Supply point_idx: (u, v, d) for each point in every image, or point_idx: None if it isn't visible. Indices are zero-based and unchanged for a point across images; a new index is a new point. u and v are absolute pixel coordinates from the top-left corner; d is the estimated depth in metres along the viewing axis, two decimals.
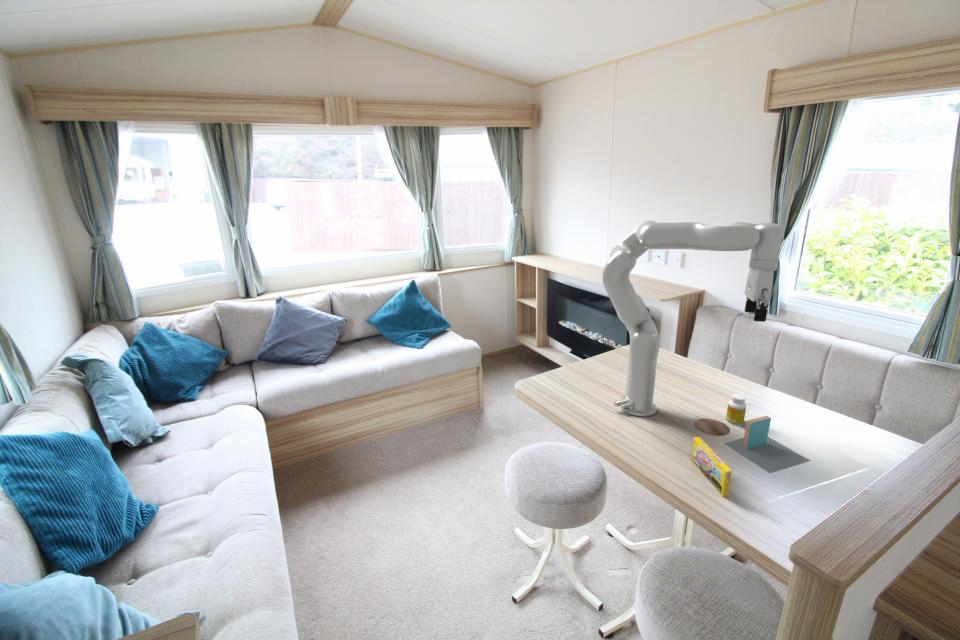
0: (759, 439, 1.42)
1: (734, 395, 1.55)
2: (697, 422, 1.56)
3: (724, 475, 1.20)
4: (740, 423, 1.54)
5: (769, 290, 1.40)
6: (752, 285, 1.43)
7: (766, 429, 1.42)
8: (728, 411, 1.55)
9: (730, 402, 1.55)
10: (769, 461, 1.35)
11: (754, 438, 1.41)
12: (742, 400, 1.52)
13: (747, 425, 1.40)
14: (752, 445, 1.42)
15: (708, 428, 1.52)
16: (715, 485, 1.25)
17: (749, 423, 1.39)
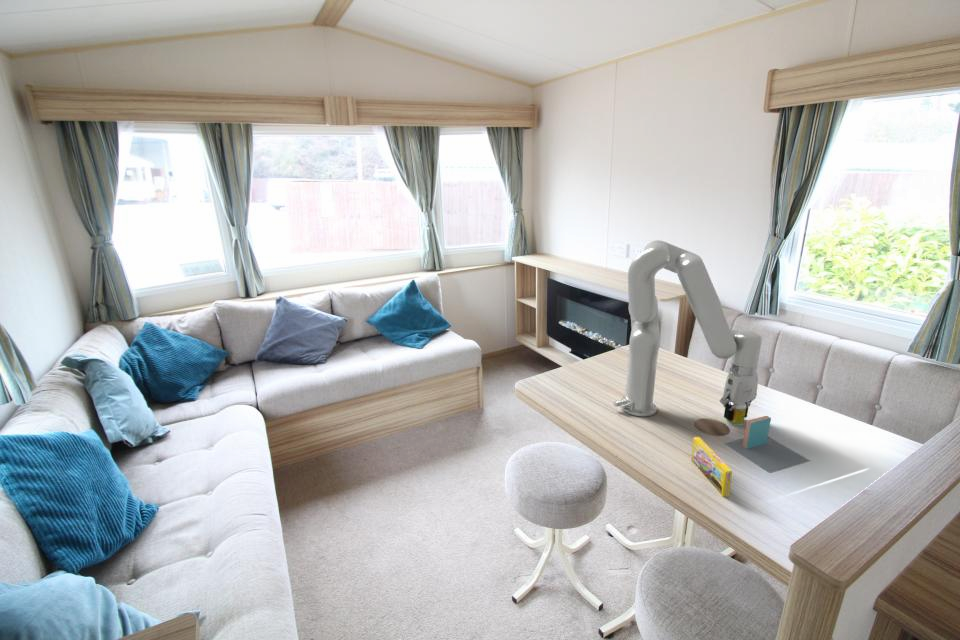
0: (759, 439, 1.42)
1: None
2: (697, 422, 1.56)
3: (724, 475, 1.20)
4: (740, 423, 1.54)
5: None
6: (752, 388, 1.51)
7: (766, 429, 1.42)
8: None
9: (730, 402, 1.55)
10: (769, 461, 1.35)
11: (754, 438, 1.41)
12: None
13: (747, 425, 1.40)
14: (752, 445, 1.42)
15: (708, 428, 1.52)
16: (715, 485, 1.25)
17: (749, 423, 1.39)
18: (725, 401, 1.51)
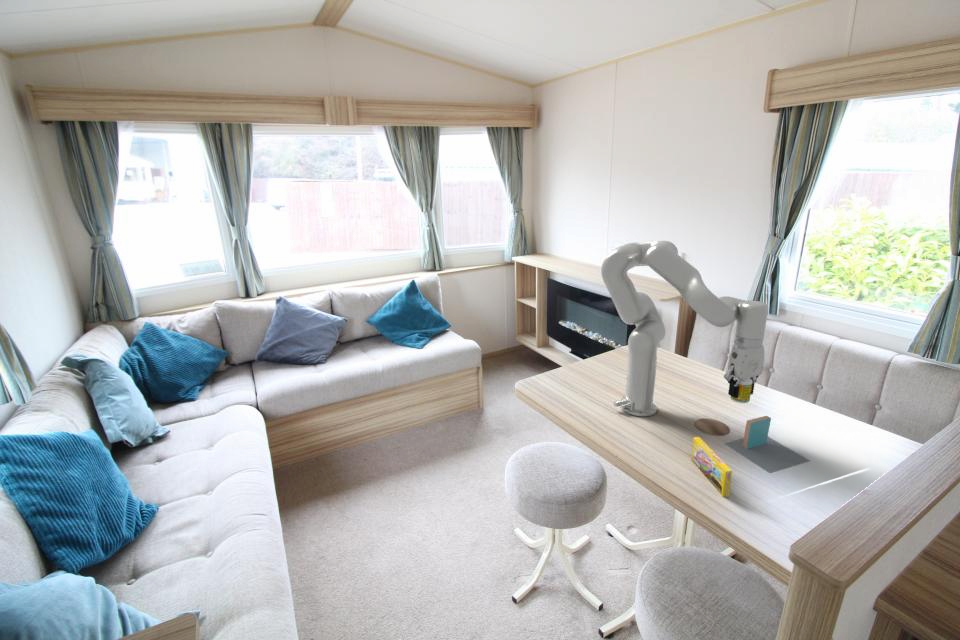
0: (759, 439, 1.42)
1: None
2: (697, 422, 1.56)
3: (724, 475, 1.20)
4: (746, 400, 1.44)
5: None
6: (759, 362, 1.41)
7: (766, 429, 1.42)
8: None
9: (735, 378, 1.44)
10: (769, 461, 1.35)
11: (754, 438, 1.41)
12: None
13: (747, 425, 1.40)
14: (752, 445, 1.42)
15: (708, 428, 1.52)
16: (715, 485, 1.25)
17: (749, 423, 1.39)
18: (729, 376, 1.41)
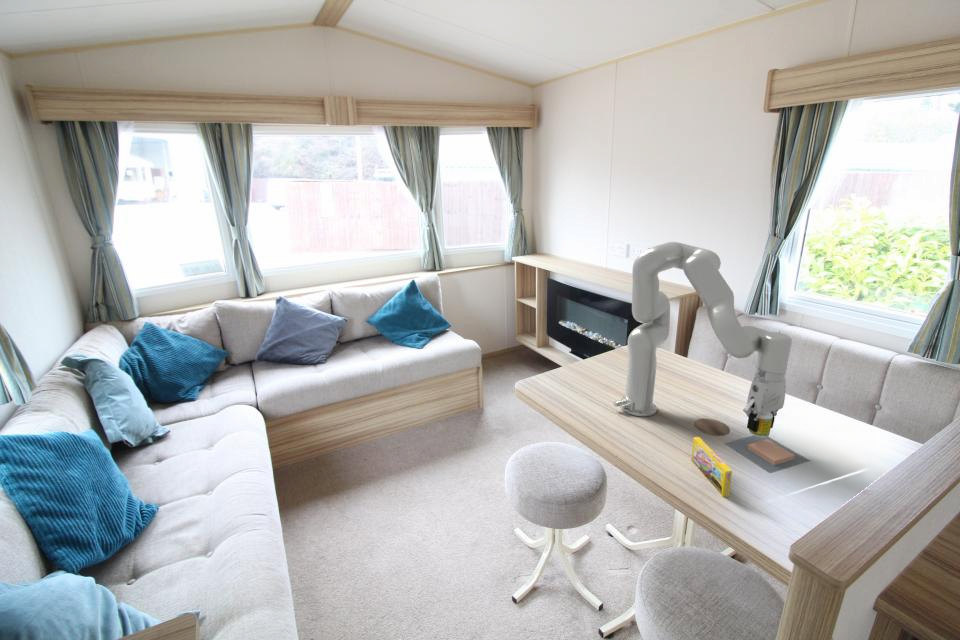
0: None
1: None
2: (697, 422, 1.56)
3: (724, 475, 1.20)
4: (766, 435, 1.38)
5: None
6: (780, 396, 1.35)
7: None
8: None
9: (754, 411, 1.39)
10: None
11: None
12: None
13: (769, 459, 1.34)
14: None
15: (708, 428, 1.52)
16: (715, 485, 1.25)
17: (772, 463, 1.33)
18: (749, 410, 1.36)
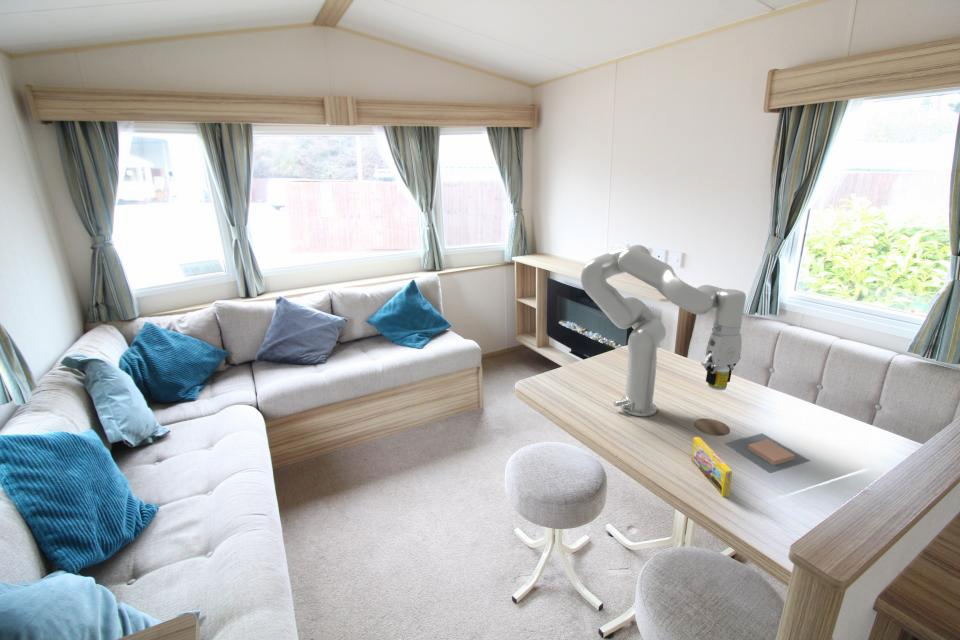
0: None
1: None
2: (697, 422, 1.56)
3: (724, 475, 1.20)
4: (723, 387, 1.46)
5: None
6: (736, 350, 1.43)
7: None
8: None
9: (713, 365, 1.47)
10: None
11: None
12: None
13: (769, 459, 1.34)
14: None
15: (708, 428, 1.52)
16: (715, 485, 1.25)
17: (772, 463, 1.33)
18: (707, 363, 1.44)
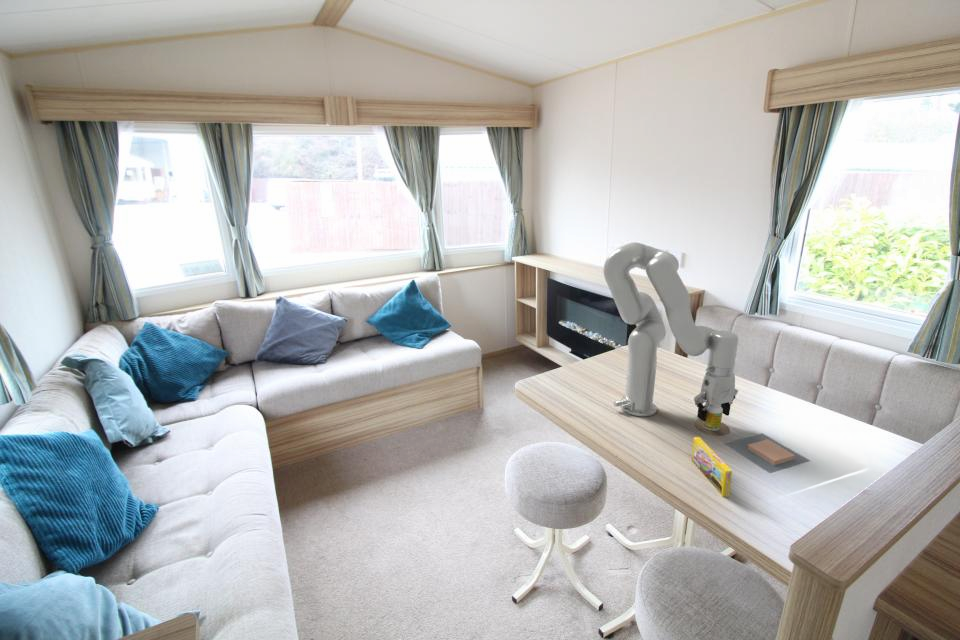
0: None
1: None
2: (697, 422, 1.56)
3: (724, 475, 1.20)
4: (716, 428, 1.51)
5: None
6: (729, 389, 1.47)
7: None
8: None
9: None
10: None
11: None
12: None
13: (769, 459, 1.34)
14: None
15: None
16: (715, 485, 1.25)
17: (772, 463, 1.33)
18: (699, 400, 1.47)
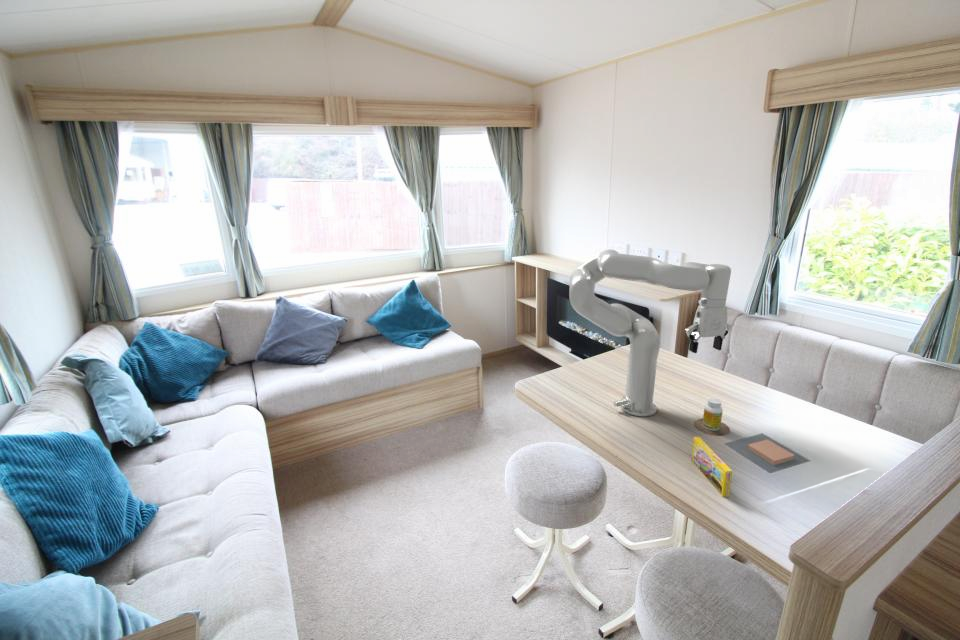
0: None
1: (710, 399, 1.51)
2: (697, 422, 1.56)
3: (724, 475, 1.20)
4: (716, 428, 1.51)
5: None
6: (721, 322, 1.51)
7: None
8: (704, 415, 1.52)
9: (706, 406, 1.52)
10: None
11: None
12: (718, 404, 1.49)
13: (769, 459, 1.34)
14: None
15: None
16: (715, 485, 1.25)
17: (772, 463, 1.33)
18: (690, 331, 1.52)
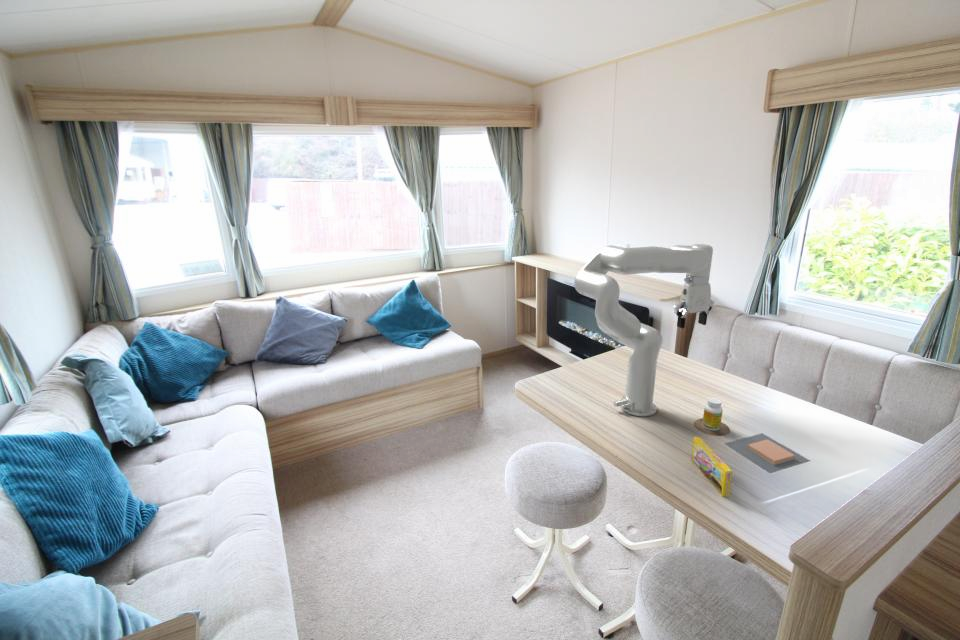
0: None
1: (710, 399, 1.51)
2: (697, 422, 1.56)
3: (724, 475, 1.20)
4: (716, 428, 1.51)
5: None
6: (706, 298, 1.62)
7: None
8: (704, 415, 1.52)
9: (706, 406, 1.52)
10: None
11: None
12: (718, 404, 1.49)
13: (769, 459, 1.34)
14: None
15: None
16: (715, 485, 1.25)
17: (772, 463, 1.33)
18: (678, 307, 1.62)
